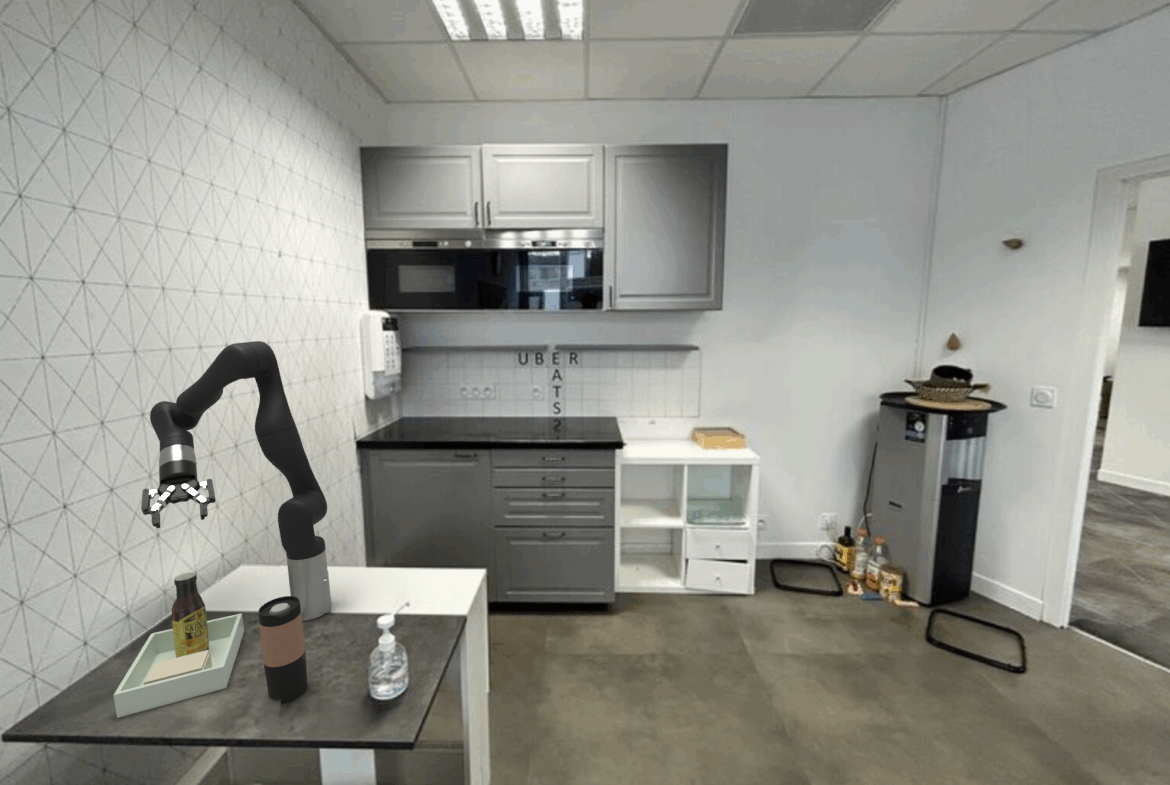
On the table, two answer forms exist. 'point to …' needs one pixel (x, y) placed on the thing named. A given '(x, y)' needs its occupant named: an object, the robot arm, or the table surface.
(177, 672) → the beige lidded box
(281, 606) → the travel mug
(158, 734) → the table surface
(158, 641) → the tote
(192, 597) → the sauce bottle
